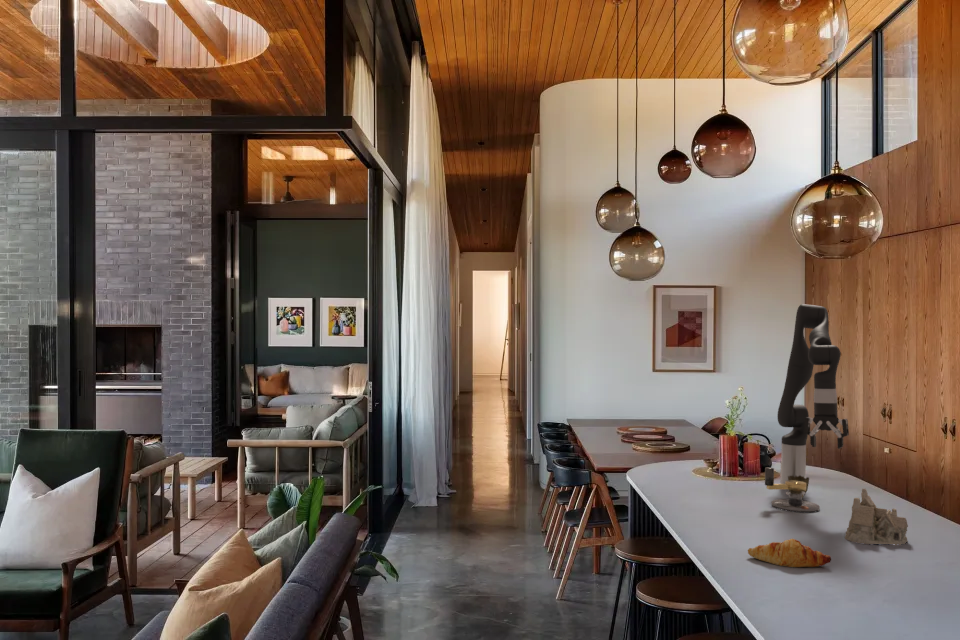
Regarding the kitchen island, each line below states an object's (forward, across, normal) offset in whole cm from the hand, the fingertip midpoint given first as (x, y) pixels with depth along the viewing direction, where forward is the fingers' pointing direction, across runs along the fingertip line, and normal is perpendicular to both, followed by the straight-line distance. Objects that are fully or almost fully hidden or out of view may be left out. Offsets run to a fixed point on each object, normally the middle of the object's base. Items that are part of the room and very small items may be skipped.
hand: (826, 447), depth 268 cm
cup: (+22, +15, -15) cm, 30 cm away
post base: (+22, +11, +2) cm, 25 cm away
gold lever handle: (+15, +13, +5) cm, 21 cm away
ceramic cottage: (+24, -22, +27) cm, 42 cm away
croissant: (+25, -10, +69) cm, 74 cm away
